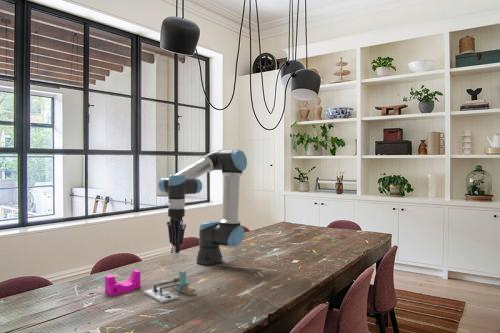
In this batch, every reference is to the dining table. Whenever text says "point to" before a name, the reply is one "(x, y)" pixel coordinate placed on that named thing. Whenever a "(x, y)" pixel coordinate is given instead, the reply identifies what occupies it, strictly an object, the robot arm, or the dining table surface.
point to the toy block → (122, 284)
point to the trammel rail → (184, 289)
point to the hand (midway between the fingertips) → (175, 259)
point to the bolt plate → (161, 295)
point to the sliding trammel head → (181, 282)
